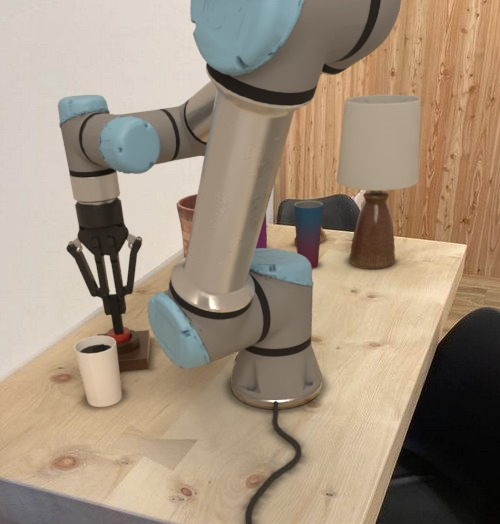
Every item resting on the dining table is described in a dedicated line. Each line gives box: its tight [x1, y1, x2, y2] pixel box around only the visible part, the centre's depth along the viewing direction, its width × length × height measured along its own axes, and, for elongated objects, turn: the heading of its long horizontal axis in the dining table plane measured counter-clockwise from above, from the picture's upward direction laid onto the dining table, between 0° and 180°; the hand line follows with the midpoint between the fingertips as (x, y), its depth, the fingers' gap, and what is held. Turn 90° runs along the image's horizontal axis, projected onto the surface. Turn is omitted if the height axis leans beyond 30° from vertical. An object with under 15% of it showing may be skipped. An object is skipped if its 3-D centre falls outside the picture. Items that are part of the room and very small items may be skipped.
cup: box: [293, 199, 324, 269], centre depth 154 cm, size 7×7×15 cm
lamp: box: [336, 94, 422, 270], centre depth 149 cm, size 19×19×37 cm
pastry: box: [294, 226, 328, 245], centre depth 172 cm, size 9×7×4 cm
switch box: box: [96, 329, 151, 372], centre depth 118 cm, size 12×10×4 cm
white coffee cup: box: [73, 335, 123, 408], centre depth 104 cm, size 7×7×10 cm
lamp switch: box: [107, 326, 131, 343], centre depth 117 cm, size 4×4×2 cm
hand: (118, 329), depth 117 cm, fingers closed
